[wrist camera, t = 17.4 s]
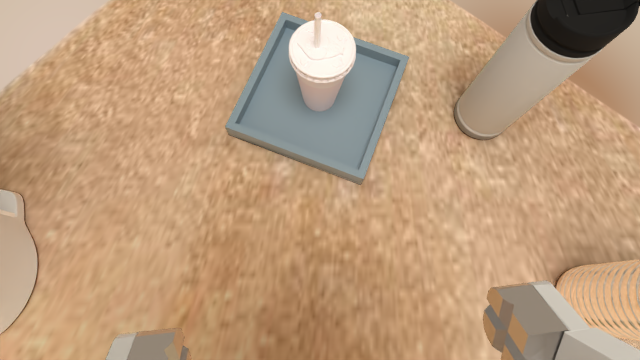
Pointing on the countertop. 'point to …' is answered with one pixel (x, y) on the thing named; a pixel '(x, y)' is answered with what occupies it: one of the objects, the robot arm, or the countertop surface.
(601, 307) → the water bottle
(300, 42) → the smoothie
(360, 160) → the tray
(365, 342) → the countertop surface
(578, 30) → the travel mug
